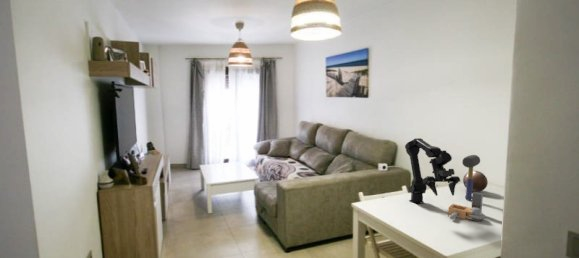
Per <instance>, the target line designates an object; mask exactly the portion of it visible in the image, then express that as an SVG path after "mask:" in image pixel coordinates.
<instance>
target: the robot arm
mask: <svg viewBox="0 0 579 258" xmlns="http://www.w3.org/2000/svg"><path fill="white" fill-rule="evenodd" d="M404 148H405V151H406V154H408V156H409V160H410V165H411V172H412V173H411V174H412V177H413V178H412V180H411V184H410V186H409V187H408V192H409V193H410V194H411V195H410V199H409V200H408V201H409V202H411V203H414V204H416V205H419V204H423V203H424V199H423V198H424V196H423V195H424V194H426V191H427V187H428V188H430V190H431V191H432V192H433V194H434V195H435V196H436V197H437V196H438V191H437V187H436V183H437V182H438V183H448V188H449V191H450V194H451V195H452V196H454V195H455V190H456V185H457V184H458V183H459V182H461V178H460V177H459V176H457V175H456V176H455V170H454V169H455V168H448V170H447V169H446V168H444V166H445V165H446V164H448V163H450V162H451V161H452V159H453V157H452V155H451V154H450V153H449V152H447V150H441V148H440V147H438V146H433V145H431V144H429V143H428V142H426V141H425V140H423V138H420V137H419V138H416V137H415V138H414V139H412V140H410V141H408V142H407V143H406V144H405V145H404ZM420 149H421V150H422V151H424V152H425V155H426V156H427V157H428V158H429V159H430V160H429V163H428V164H431V167H432V171H431V172H432V174H433V176H432V175H431V176H430V175H429V176H425V177H424V178H423V177H422V173H421V167H420V161H419V153H420V151H421V150H420Z"/></svg>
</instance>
